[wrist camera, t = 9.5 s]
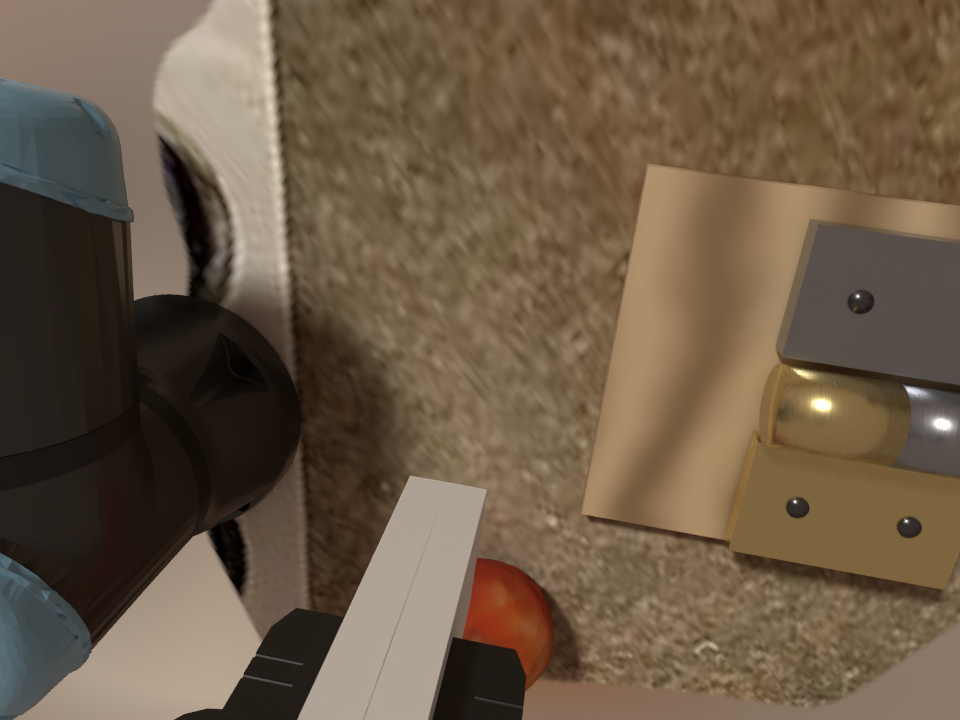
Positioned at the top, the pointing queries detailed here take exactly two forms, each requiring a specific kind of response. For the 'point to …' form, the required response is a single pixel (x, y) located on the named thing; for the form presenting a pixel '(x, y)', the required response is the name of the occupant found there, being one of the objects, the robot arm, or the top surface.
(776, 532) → the loose leaf
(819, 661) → the top surface
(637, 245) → the board
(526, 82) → the top surface
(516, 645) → the tomato
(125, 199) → the robot arm
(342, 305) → the top surface
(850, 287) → the fixed leaf
